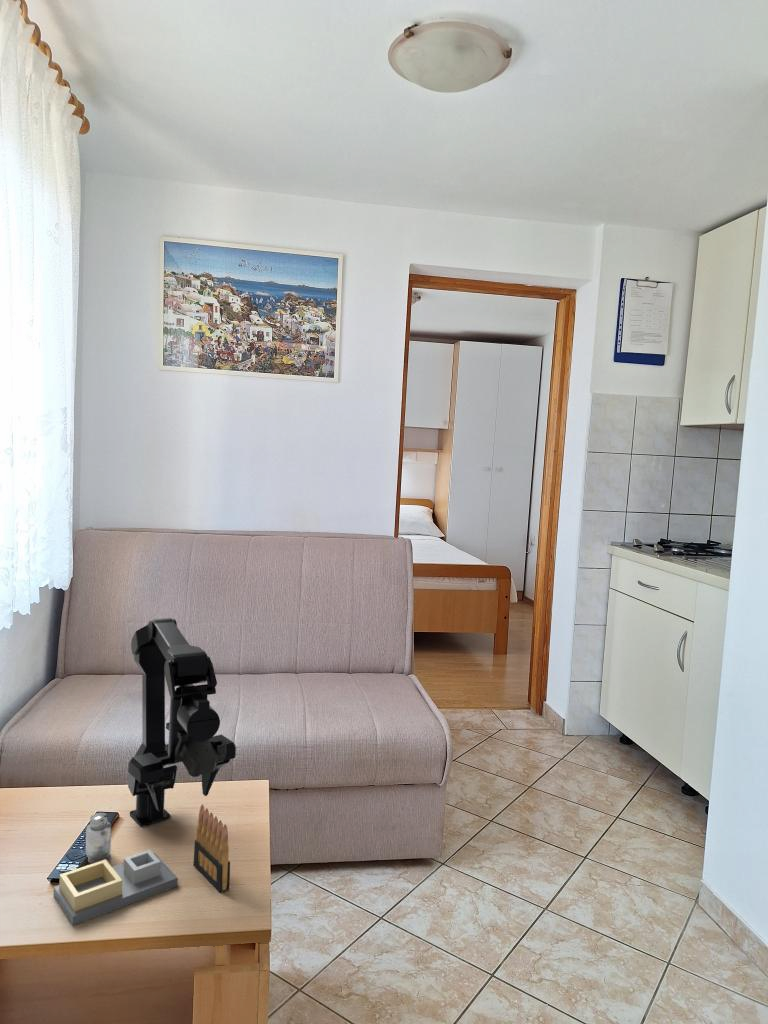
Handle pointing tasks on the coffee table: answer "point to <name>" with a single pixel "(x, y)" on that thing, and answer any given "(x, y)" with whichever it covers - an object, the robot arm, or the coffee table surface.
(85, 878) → the board
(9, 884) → the coffee table surface
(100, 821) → the steel fitting
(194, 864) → the ammunition clip
